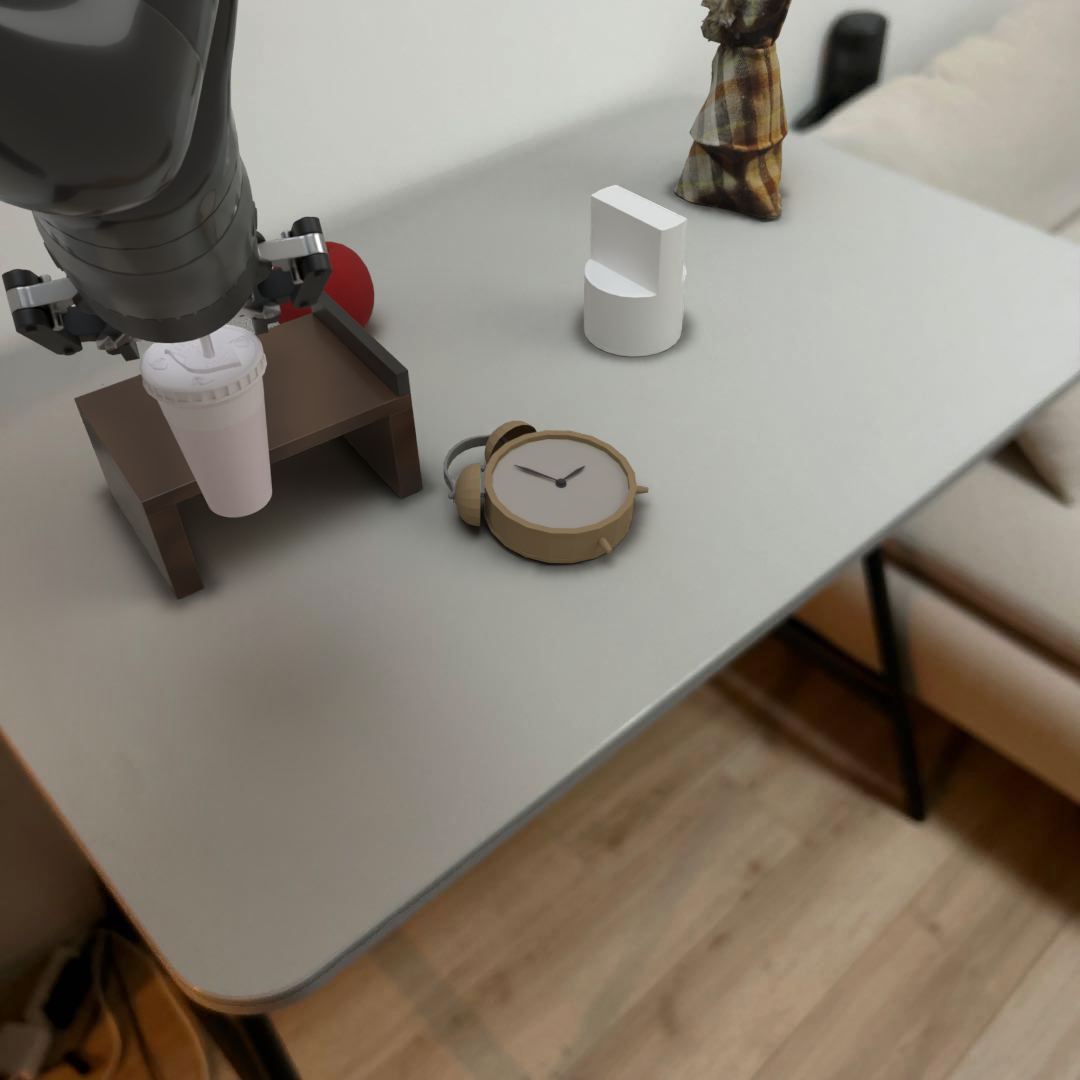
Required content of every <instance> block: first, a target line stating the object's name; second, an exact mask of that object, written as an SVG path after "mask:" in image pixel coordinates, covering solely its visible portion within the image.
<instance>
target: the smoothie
mask: <svg viewBox="0 0 1080 1080" xmlns="http://www.w3.org/2000/svg"><path fill="white" fill-rule="evenodd" d="M266 366H267V361H266V356H265V354H264V352H263V347H262V343H261V341H260V340H259V338H258V337H257V336H256V335H255V333H253V332H252V331H250V330H249V329H245V328H244V327H241V326H237V325H234V324H226V325H224V326H223V327H221V328H220V329H218V330H217V331H215V332H213V333H211V334H209V335H207V336H204V337H202V338H199V339H196V340H192V341H187V342H181V343H156V342H153V343H152V344H151V345H150V346H149V347H148V348H147V349H146V350H145V351H144V352H143V355H142V357H140V360H139V372H140V374H141V375H142V378H143V386H144V388H145V389H146V391H147V393H148V394H149V395H151V396H152V397H153V398H155V399H156V400H157V401H158V403H159V405H160V407H161V410H162V412H163V414H164V416H165V418H166V420H167V422H168V424H169V426H170V428H171V430H172V432H173V434H174V436H175V438H176V440H177V442H178V444H179V446H180V448H181V450H182V452H183V454H184V457H185V459H186V461H187V463H188V465H189V467H190V469H191V471H192V473H193V475H194V477H195V479H196V481H197V483H198V485H199V487H200V489H201V491H202V493H201V494H202V495H203V498H204V500H205V502H206V504H207V506H208V508H209V509H210V510H211V512H213V513H214V514H216V515H217V516H221V517H226V518H242V517H246V516H249V515H250V516H251V515H253V514H254V513H257V512H259V511H260V510H262V509H263V508H265V507H266V505H267V504H268V503H269V502H270V500H271V498H272V496H273V487H272V475H271V474H272V473H271V465H270V461H269V449H268V437H267V425H266V413H265V402H264V388H263V379H262V376H263V374H264V373H265V369H266Z"/></svg>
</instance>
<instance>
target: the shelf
mask: <svg viewBox="0 0 1080 1080" xmlns="http://www.w3.org/2000/svg"><path fill="white" fill-rule="evenodd" d="M311 309H312V313H310V314H308V315H305V316H302V317H299V318H297V319H294V320H291V321H288V322H285V323H283V324H277V325H274V326H272V327H268V332H269V333H264V334H259V335H256V336H257V337H258V338H259V340H260V341H261V343H262V347H263V352H264V354H265V356H266V361H267V366H266V369H265V373H264V374H263V376H262V379H263V388H264V402H265V413H266V425H267V437H268V449H269V461H270V466H271V465H273V464H276V463H277V462H281V461H283V460H285V459H287V458H290V457H292V456H295V455H297V454H299V453H302V452H304V451H307V450H309V449H312V448H314V447H317V446H318V445H319V446H320V445H321V444H323V443H326V442H329V441H332V440H334V439H336V438H339V437H341V436H342V437H343V438H344V439H345V440H346V441H347V442H348V444H350V445H351V446H352V448H353V449H355V451H356V452H357V453H358V454H359V455H360V456H361V457H362V459H364V461H365V462H367V464H368V465H369V466H370V467H371V468H372V469H373V470H374V471H375V472H376V474H377V475H378V476H379V477H380V478H381V479H382V480H383V481H384V482H385V484H387V485H388V487H389V488H390V489H391V490H392V491H393V492H394V493H395V494H396V495H397V497H399V498H400V499H402V500H403V499H404V498H407V497H409V496H411V495H413V494H415V493H417V492H419V491H422V490H423V489H424V485H423V478H422V470H421V462H420V453H419V446H418V438H417V430H416V423H415V416H414V406H413V400H412V393H411V392H412V391H411V383H410V376H409V369H408V368H407V367H406V366H404V365H403V363H401V362H400V361H399V359H397V358H396V357H395V356H394V355H393V354H392V353H390V351H388V349H386V348H385V346H383V345H382V344H381V343H380V342H379V341H378V340H377V339H375V338H374V336H373V335H371V334H370V333H369V332H368V331H367V330H366V328H363V327H362V326H361V325H359V324H358V323H357V322H356V321H355V320H354V319H353V318H352V317H351V316H350V315H349V314H348V313H347V312H346V311H344V310H343V309H342V308H341V307H340V306H339V305H338V304H337V303H336V302H335V301H334V300H333V299H332V298H331V297H329V296H328V295H327V294H326V293H325V292H324V291H322V293H321V295H320V297H319V299H318V301H317V303H316V304H314V305H311ZM73 401H74V403H75V405H76V408H77V410H78V413H79V416H80V418H81V420H82V424H83V425H84V428H85V431H86V434H87V436H88V438H89V441H90V444H91V446H92V448H93V451H94V454H95V456H96V459H97V461H98V464H99V466H100V469H101V472H102V474H103V477H104V480H105V483H106V484H107V487H108V489H109V492H110V494H111V496H112V497H113V499H114V500H115V502H116V504H117V506H119V509H120V510H121V512H122V513H123V515H124V516H125V518H126V520H127V521H128V523H129V524H130V527H131V528H132V529H133V531H134V532H135V534H136V535H137V537H138V539H139V541H140V542H141V544H142V546H143V547H144V549H145V550H146V552H147V553H148V555H149V556H150V558H151V560H152V561H153V563H154V565H155V566H156V568H157V569H158V571H159V573H160V574H161V576H162V577H163V579H164V580H165V582H166V584H167V585H168V587H169V588H170V590H171V592H172V593H173V595H174V597H175V598H176V599H177V600H180V599H183V598H184V597H187V596H190V595H192V594H194V593H196V592H198V591H201V590H203V589H204V588H205V586H204V582H203V580H202V577H201V573H200V571H199V568H198V565H197V562H196V560H195V556H194V554H193V550H192V548H191V545H190V541H189V539H188V536H187V532H186V531H185V527H184V524H183V521H182V518H181V515H180V512H179V509H178V507H177V504H178V503H181V502H183V501H186V500H188V499H190V498H193V497H196V496H198V495H200V494H202V491H201V489H200V487H199V485H198V483H197V481H196V479H195V477H194V475H193V473H192V471H191V469H190V467H189V465H188V463H187V461H186V459H185V457H184V454H183V452H182V450H181V448H180V446H179V444H178V442H177V440H176V438H175V436H174V434H173V432H172V430H171V428H170V426H169V424H168V422H167V420H166V418H165V416H164V414H163V412H162V410H161V407H160V405H159V403H158V401H157V400H156V399H155V398H153V397H152V396H151V395H149V394H148V393H147V391H146V389H145V388H144V386H143V378H142V375H141V373H140V374H138V375H135V376H132V377H130V378H127V379H124V380H121V381H118V382H115V383H112V384H110V385H107V386H105V387H101V388H98V389H96V390H93V391H90V392H88V393H85V394H81V395H79V396H77V397H74V399H73Z"/></svg>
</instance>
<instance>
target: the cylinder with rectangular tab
mask: <svg viewBox="0 0 1080 1080" xmlns="http://www.w3.org/2000/svg"><path fill="white" fill-rule="evenodd" d="M687 221H688V218H687V217H686V216H685V217H684V216H682V215H680V214H678V213H676V212H674V211H672V210H670V209H668V208H666V207H664V206H662V205H659V204H657V203H655V202H653V201H651V200H650V199H647V198H645V197H643V196H640V195H639V194H637V193H634V192H633V191H631V190H629V189H627V188H624V187H622V186H620V185H619V184H612V185H610V186H606V187H604V188H601V189H599V190H598V191H595V192H594V193H592V194H591V196H590V250H589V251H590V253H589V254H590V256H589V257H590V258H589V259H588V260H587V262H586V263H585V266H584V269H583V331H584V332H583V333H584V335H585V337H586V338H587V340H588V342H589V343H590V344H592V345H593V346H594V347H596V348H597V349H599V350H601V351H604V352H605V353H609V354H612V355H616V356H623V357H646V356H647V357H648V356H652V355H657V354H659V353H662V352H665V351H667V350H669V349H671V347H673V346H675V345H676V344H677V343H678V341H679V340H680V338H681V336H682V332H683V323H684V322H683V321H684V308H685V297H686V294H685V293H686V284H687V273H688V271H687V267H686V264H685V263H684V260H685V248H686V247H685V246H686V237H687V236H686V235H687V224H688V223H687Z"/></svg>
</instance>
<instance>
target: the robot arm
mask: <svg viewBox="0 0 1080 1080" xmlns="http://www.w3.org/2000/svg"><path fill="white" fill-rule="evenodd" d="M238 9H239V0H0V202H3V203H5V204H7V205H11V206H13V207H17V208H19V209H24V210H27V211H30V212H31V213H32V217H33V220H34V223H35V226H36V229H37V231H38V233H39V235H40V237H41V238H42V241H43V242H42V244H43V246H44V248H45V250H46V251H47V254H48V255H49V256H50V259H51V260H52V262H53V264H54V265H55V267H56V268H57V269H59V270H60V271H61V272H64V274H65V277H61V278H58V279H53V280H52V276H51V275H50V274H41V275H37V274H36V273H35V272H34V271H32V270H30V269H25V268H24V269H23V268H14V269H10V270H9V271H5V272H4V273H2V274H1V278H2V283H3V287H4V290H5V295H6V299H7V304H8V307H9V311H10V314H11V317H12V320H13V321H12V322H13V325H14V328H15V332H16V333H18V334H19V335H21V336H23V337H25V338H26V339H29V340H30V341H32V342H34V343H36V344H37V345H38V346H41V347H43V348H45V349H47V350H48V351H50V352H52V353H54V354H56V355H57V356H59V355H60V356H66V357H67V356H68V357H69V356H74V355H76V353H79V352H81V351H83V349H84V348H83V344H82V343H87V342H93V343H95V345H96V348H97V350H100V351H105V353H107V354H108V355H111V356H117V355H118V356H119V355H121V356H122V359H124V361H125V362H130V361H135V360H136V361H137V360H141V356H140V352H139V348H138V345H137V343H141V342H142V341H145V342H150V343H155V342H156V343H181V342H187V341H192V340H196V339H199V338H202V337H204V336H207V335H209V334H211V333H213V332H215V331H217V330H218V329H220V328H221V327H223V326H224V325H228V323H230V322H231V321H234V322H238V323H241V322H244V321H246V320H251V323H252V328H253V332H254V334H255V335H259V334H264V333H269V332H268V329H269V325H271V324H276V323H278V322H277V321H278V320H280V317H279V314H280V313H281V310H280V306H281V305H282V304H284V303H287V302H290V301H292V305H293V307H294V308H301V309H305V308H309V307H311V305H314V304H316V303H317V301H318V299H319V297H320V295H321V293H322V291H323V289H324V287H325V285H326V283H327V281H328V279H329V277H330V275H331V273H332V271H333V270H332V266H331V263H330V259H329V255H328V251H327V247H326V243H325V242H326V239H325V236H324V232H323V228H322V225H321V221H320V218H319V217H318V216H303V217H301V218H299V219H296V220H295V221H293V223H292V226H291V228H290V230H283V231H281V232H280V237H281V238H276V239H269V240H266V237H265V236H264V235H263V233H261V232H260V231H258V208H257V207H256V202H255V200H254V199H253V192H252V186H251V181H250V177H249V175H248V171H247V168H246V165H245V163H244V161H243V159H242V156H241V154H240V145H239V136H238V132H237V125H236V121H235V114H234V111H233V107H232V67H233V57H234V49H235V42H236V34H237V33H236V32H237V22H238V21H237V20H238ZM273 267H280V268H276V269H273ZM272 269H273V270H272Z"/></svg>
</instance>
